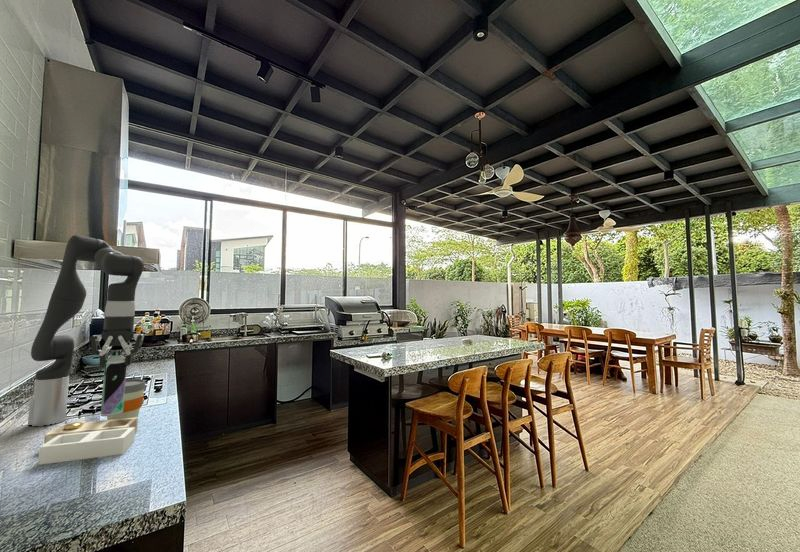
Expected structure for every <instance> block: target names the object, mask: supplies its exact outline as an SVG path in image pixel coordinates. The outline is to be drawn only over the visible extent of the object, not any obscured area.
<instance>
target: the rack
mask: <svg viewBox="0 0 800 552" xmlns="http://www.w3.org/2000/svg"><path fill="white" fill-rule="evenodd" d="M135 434H136V433H135V427H131V428H121V429H111V430H102V431H92V432H83V433H73V434H64V435H58V436H56V437H55V438H53V439H52V440H50V441H48V442H47V443H45V444H44V443H43V444H42V445H41V446H39V449H38V462H37V466H40V465H48V464H55V463H56V464H58V463H62V462H73V461H78V460H81V461H82V460H87V459H94V458H95V459H96V458H102V457H110V456H112V457H113V456H118V455H123V454H124V453H126V451H127V450H129V448H130V447H131V446H132V445H133V444H134V443H135V438H136V437H135Z"/></svg>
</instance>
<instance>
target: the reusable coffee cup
mask: <svg viewBox="0 0 800 552" xmlns="http://www.w3.org/2000/svg"><path fill="white" fill-rule="evenodd" d="M145 389H146V380H144V379H140V378H139V379H138V378H137V379H136V378H135V379H125V392H124V406H123V412H122V413H121V414H118V415H114V416H106V418H107V419H106V420H114V419H124V418H135V417H138V418H139V414H140V409H141V407H142V406H143V401H144V397H145V394H144V390H145Z"/></svg>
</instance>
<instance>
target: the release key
mask: <svg viewBox="0 0 800 552" xmlns="http://www.w3.org/2000/svg"><path fill="white" fill-rule="evenodd" d="M82 423H83V422H82V421H76V422H75V421H74V422H70V423H66V424H67V425H65V426H64V430H73V429H78V428H80V427H82Z"/></svg>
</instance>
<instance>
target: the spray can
mask: <svg viewBox="0 0 800 552" xmlns="http://www.w3.org/2000/svg"><path fill="white" fill-rule="evenodd" d="M105 360H106V361H105V366H104V368H103V379H102V380H103V381H102V382H103V383H102V392H101V393H102V394H101V404H100V405H101V407H100V417H107V416H114V415H118V414H121V413H122V412H123V406H124V392H125V380H127V379H126V378H127V377H126V376H127V366H126V367H125V356H124V355H123V354H122V353H121V351H120V350H118V351H117V350H116V351H113V352H112V355H110V356H108V358H107V359H105Z"/></svg>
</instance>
